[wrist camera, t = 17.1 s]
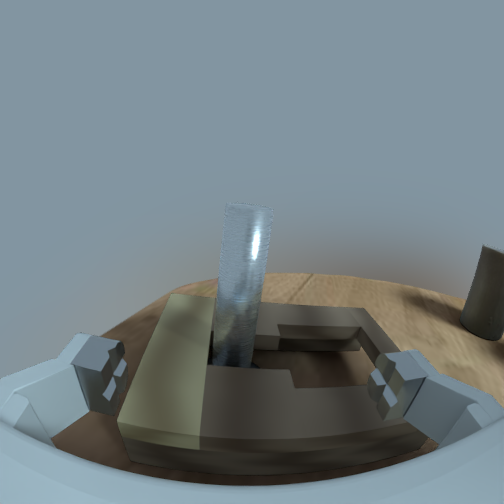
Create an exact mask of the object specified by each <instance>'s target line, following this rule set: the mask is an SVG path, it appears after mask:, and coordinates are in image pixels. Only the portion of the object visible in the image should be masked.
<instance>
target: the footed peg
mask: <svg viewBox="0 0 504 504" xmlns="http://www.w3.org/2000/svg"><path fill="white" fill-rule="evenodd" d="M273 213H274V209H272V208H269V207H265V206H260V205H254V204H246V203H226V208H225V217H224V227H223V236H222V246H221V256H220V267H219V277H218V289H217V300H216V313H215V325H214V339H213V353H212V357H210V358H208V365H214V366H226V367H239V368H255V369H261V368H260V367H258V366H257V365H256V364H254V363H253V362H251V359H252V353H253V347H254V340H255V334H256V328H257V321H258V315H259V308H260V302H261V295H262V289H263V282H264V275H265V269H266V261H267V255H268V248H269V241H270V234H271V227H272V220H273Z"/></svg>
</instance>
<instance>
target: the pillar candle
mask: <svg viewBox="0 0 504 504" xmlns="http://www.w3.org/2000/svg"><path fill="white" fill-rule="evenodd" d="M460 322H461V323H462V325H463V326H465V327H466V328H467V329H468V330H469V331H470V332H472V333H474V334H475V335H478V336H479V337H482V338H485V339H490V340H495V341H496V340H499V339H501V337H502V335H503V333H504V250H501V249H498V248H495V247H492V246H488V245H484V244H483V247H482V251H481V255H480V259H479V262H478V266H477V270H476V273H475V277H474V279H473V282H472V286H471V289H470V291H469V294H468V298H467V300H466V303H465V306H464V308H463V311H462V314H461V317H460Z"/></svg>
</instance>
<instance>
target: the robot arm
mask: <svg viewBox="0 0 504 504" xmlns="http://www.w3.org/2000/svg"><path fill="white" fill-rule="evenodd" d="M124 354H125V350H124V345H123V343H122V342H121V341H117V340H113V339H108V338H103V337H99V336H94V335H89V334H85V333H77V334H76V335H75V336H74V338H73V339H72V340H71V341H70V342H69V344H68V345H67V346H66V347H65V348H64V350H63V351H62V352H61V354H60V355H59V356H58V357H57V358H56V360H54V359H50V360H47V361H44V362H42V363H39V364H37V365H34V366H32V367H29V368H27V369H24V370H21V371H18V372H16V373H13V374H10V375H8V376H5V377H2V378H0V504H504V409H503V408H502V406H501V405H500V404H499V403H498V402H497V401H496V400H495V399H494V398H493V396H492V395H490V394H488V393H485V392H483V391H481V390H478V389H476V388H474V387H472V386H469V385H467V384H465V383H462V382H460V381H458V380H456V379H453V378H451V377H449V376H447V375H445V374H439V373H438V372H437V370H436V369H435V368H434V367H433V366H432V365H431V364H430V363H429V361H428V360H427V359H426V358H425V357H424V356H423V355H422V354H421V353H420V352H419V351H418V350H415V349H414V350H407V351H403V352H394V353H383V354H380V355H379V356H378V357H377V359H376V361H375V366H376V369H375V370H374V371H373V372H372V373H371V374H370V376H369V379H368V384H367V390H368V394H369V396H370V398H371V399H372V400H373V401H375V402H377V406H376V409H377V411H378V413H379V414H380V416H381V418H382V420H383V421H387V420H392V419H398V418H402V417H404V418H403V419H405V420H406V421H407V422H409V423H410V424H411V425H413V426H414V427H416V428H417V429H418V430H420V431H421V432H422V433H424V434H425V435H427V436H428V437H429V438H431V439H432V440H434V441H435V442H436V443H438V444H439V446H438V447H437V448H436V449H435V451H433V452H430V453H428V454H425V455H422V456H419V457H417V458H414V459H411V460H408V461H405V462H402V463H398V464H395V465H392V466H388V467H385V468H381V469H377V470H373V471H369V472H365V473H361V474H356V475H351V476H346V477H341V478H335V479H329V480H323V481H315V482H307V483H298V484H286V485H268V486H228V485H210V484H198V483H189V482H181V481H173V480H167V479H161V478H155V477H150V476H145V475H140V474H136V473H131V472H127V471H123V470H119V469H115V468H112V467H108V466H105V465H101V464H98V463H95V462H92V461H89V460H86V459H83V458H80V457H77V456H74V455H72V454H69V453H66V452H64V451H61V450H59V449H57V448H56V447H55V445H54V444H53V442H52V441H51V438H52V437H54V436H55V435H56V434H58V433H59V432H61V431H62V430H64V429H65V428H67V427H68V426H69V425H71V424H72V423H74V422H75V421H76V420H78V419H79V418H81V417H82V416H84V415H85V414H86V413H88V412H89V410H91V411H95V412H99V413H103V414H107V415H112V416H114V415H115V412H116V410H117V407H118V405H119V403H120V399H119V394H121V393H122V392H124V391H125V388H126V386H127V380H128V368H127V363H126V362H125V361H124V360H123V359H122V357H123V356H124Z"/></svg>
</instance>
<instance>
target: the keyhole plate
mask: <svg viewBox="0 0 504 504" xmlns="http://www.w3.org/2000/svg"><path fill="white" fill-rule="evenodd" d="M216 300H217V298H210V297H201V296H192V295H183V294H175V293H171V295H170V297H169V299H168V302H167V304H166V306H165V308H164V310H163V312H162V315H161V317H160V319H159V321H158V323H157V325H156V328H155V330H154V332H153V334H152V337H151V339H150V341H149V343H148V346H147V348H146V350H145V353H144V355H143V357H142V360H141V362H140V364H139V367H138V369H137V371H136V374H135V376H134V379H133V381H132V383H131V386H130V388H129V391H128V393H127V396H126V398H125V401H124V403H123V406H122V408H121V411H120V414H119V416H118V419H117V424H118V427H119V430H120V433H121V436H122V439H123V442H124V445H125V448H126V450H127V453H128V456H129V458H130V461H134V462H138V463H143V464H148V465H153V466H158V467H164V468H170V469H176V470H184V471H192V472H201V473H213V474H229V475H279V474H295V473H307V472H316V471H324V470H331V469H338V468H344V467H350V466H355V465H360V464H365V463H369V462H374V461H378V460H382V459H386V458H390V457H394V456H397V455H401V454H404V453H407V452H411V451H414V450H417V449H420V447H421V446H422V445H423V444H424V443H425V441H426V440H427V439H428V436H427V435H425V434H424V433H422V432H421V431H420V430H418V429H417V428H416V427H414V426H413V425H411V424H410V423H409V422H407V421H406V420H405V419H403V418H404V417H402V418H398V419H392V420H387V421H383V420H382V418H381V416H380V414H379V413H378V411H377V409H376V406H377V402H375V401H373V400H372V399H371V398H370V396H369V394H368V390H367V385H358V386H345V387H327V388H294V384H293V380H292V377H291V373H290V370H282V369H255V368H239V367H226V366H214V365H208V357H209V349H210V345H211V346H213V339H214V325H215V313H216ZM361 346H362V348H363V349H364V351H365V352H366V354H367V355H368V357H369V358H370V360H371V361H372V363H373V364H374V366H375V361H376V359H377V357H378V356H379V355H380V354H383V353H394V352H401V351H400V350H399V349H398V347H397V346H396V345H395V344H394V343H393V341H392V340H391V339H390V338H389V337H388V336H387V334H386V333H385V332H384V331H383V330H382V328H381V327H380V326H379V325H378V324H377V323H376V321H375V320H374V319H373V318H372V317H371V316H370V315H369V313H368V312H367V311H366V310H365V309H364V308H349V307H327V306H308V305H292V304H278V303H265V302H260V308H259V315H258V321H257V328H256V334H255V340H254V347H253V349H263V350H289V351H358V350H360V347H361ZM375 367H376V366H375Z"/></svg>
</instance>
